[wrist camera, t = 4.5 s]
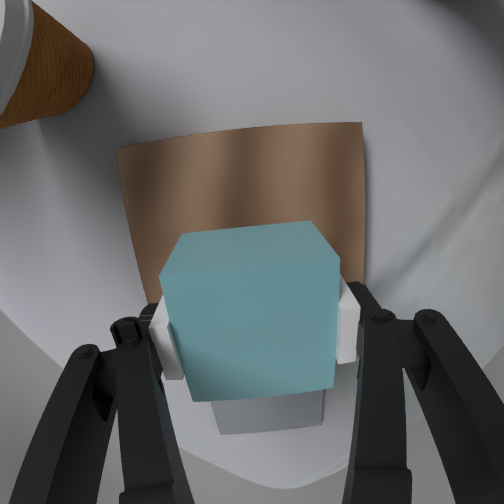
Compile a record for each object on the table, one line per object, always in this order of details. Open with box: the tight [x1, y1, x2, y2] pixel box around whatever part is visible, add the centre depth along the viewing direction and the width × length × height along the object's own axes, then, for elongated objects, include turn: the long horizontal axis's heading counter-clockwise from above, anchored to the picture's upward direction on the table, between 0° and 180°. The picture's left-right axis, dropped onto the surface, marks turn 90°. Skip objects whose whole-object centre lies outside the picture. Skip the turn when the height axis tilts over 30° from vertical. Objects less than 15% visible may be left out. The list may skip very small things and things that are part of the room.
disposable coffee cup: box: [0, 0, 94, 129], centre depth 12 cm, size 10×10×12 cm
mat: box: [211, 390, 323, 434], centre depth 29 cm, size 11×11×1 cm
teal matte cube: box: [159, 220, 340, 402], centre depth 15 cm, size 6×7×5 cm
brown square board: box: [115, 122, 365, 304], centre depth 19 cm, size 16×16×10 cm
